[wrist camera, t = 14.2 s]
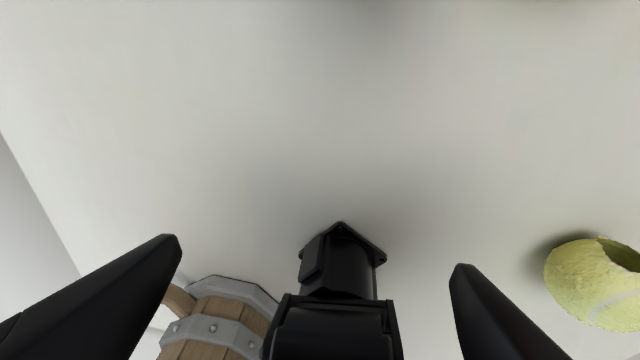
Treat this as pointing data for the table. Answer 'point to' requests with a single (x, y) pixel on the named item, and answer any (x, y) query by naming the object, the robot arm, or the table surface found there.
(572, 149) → the table surface
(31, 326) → the robot arm
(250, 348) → the tankard
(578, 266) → the tennis ball
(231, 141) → the table surface
